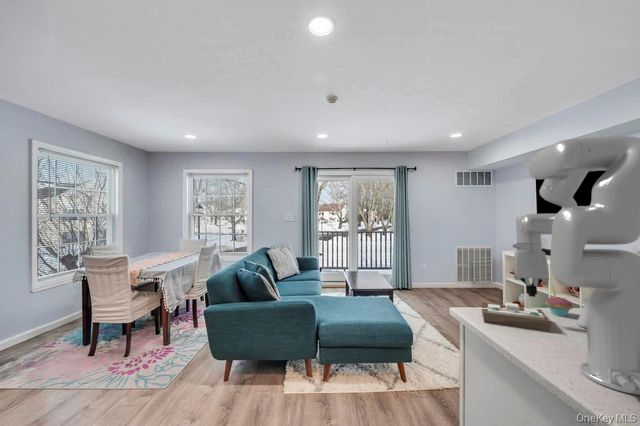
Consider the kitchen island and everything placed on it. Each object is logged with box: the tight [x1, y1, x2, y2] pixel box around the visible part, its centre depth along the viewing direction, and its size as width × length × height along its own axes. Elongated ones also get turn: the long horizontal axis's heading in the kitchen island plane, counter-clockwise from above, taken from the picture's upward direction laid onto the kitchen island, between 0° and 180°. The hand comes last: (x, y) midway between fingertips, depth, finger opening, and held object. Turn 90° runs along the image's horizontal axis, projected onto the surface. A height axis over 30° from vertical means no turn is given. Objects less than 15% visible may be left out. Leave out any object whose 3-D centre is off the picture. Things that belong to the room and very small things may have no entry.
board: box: [481, 302, 552, 333], centre depth 105 cm, size 14×20×5 cm
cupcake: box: [545, 285, 574, 317], centre depth 112 cm, size 9×8×12 cm
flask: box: [576, 298, 588, 329], centre depth 99 cm, size 7×7×10 cm
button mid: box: [504, 302, 520, 311], centre depth 106 cm, size 4×4×3 cm
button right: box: [523, 307, 539, 313], centre depth 103 cm, size 4×4×3 cm
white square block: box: [488, 303, 500, 308], centre depth 109 cm, size 4×4×3 cm
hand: (531, 295), depth 103 cm, fingers closed
